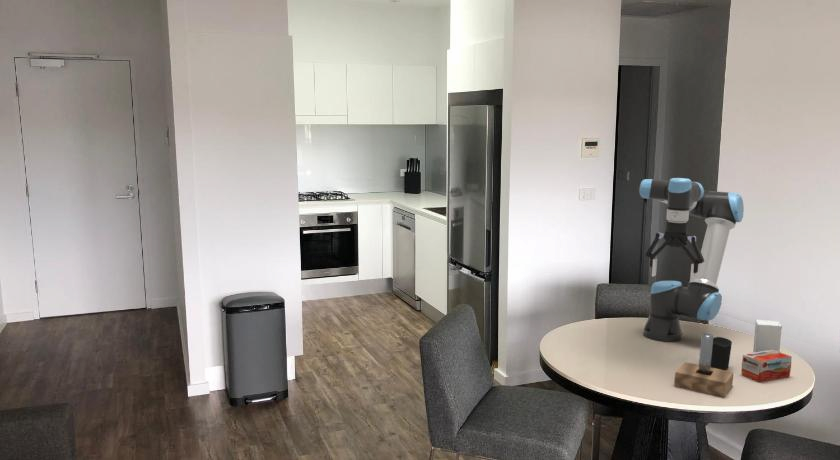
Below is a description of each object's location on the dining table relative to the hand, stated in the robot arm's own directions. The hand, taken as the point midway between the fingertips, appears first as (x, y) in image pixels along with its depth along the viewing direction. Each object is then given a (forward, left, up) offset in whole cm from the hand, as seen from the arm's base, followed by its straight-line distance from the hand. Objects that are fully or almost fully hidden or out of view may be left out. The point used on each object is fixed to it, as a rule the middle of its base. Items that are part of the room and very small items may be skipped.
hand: (672, 278), depth 250 cm
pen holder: (+16, +6, -32) cm, 36 cm away
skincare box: (+30, +22, -32) cm, 49 cm away
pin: (+17, -16, -32) cm, 40 cm away
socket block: (+17, -16, -32) cm, 40 cm away
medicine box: (+32, +7, -32) cm, 46 cm away
